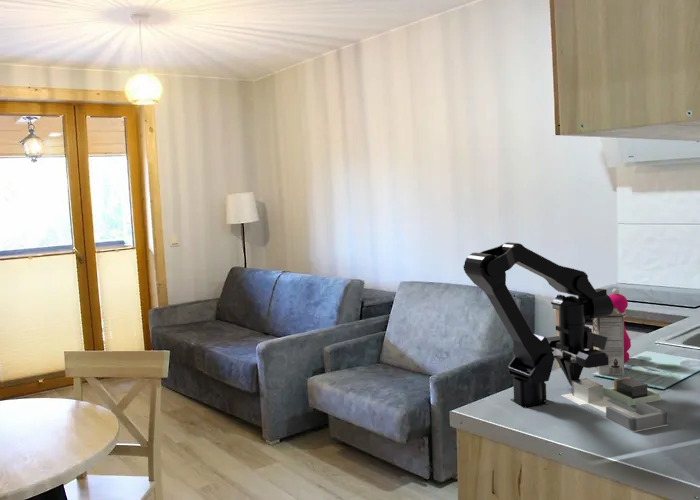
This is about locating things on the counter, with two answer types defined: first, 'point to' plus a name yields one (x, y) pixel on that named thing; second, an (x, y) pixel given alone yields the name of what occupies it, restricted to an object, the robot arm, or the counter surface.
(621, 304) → the pepper mill
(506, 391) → the counter surface
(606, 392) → the pale green square tray
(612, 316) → the coffee box
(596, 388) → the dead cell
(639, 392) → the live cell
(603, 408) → the long white tray
